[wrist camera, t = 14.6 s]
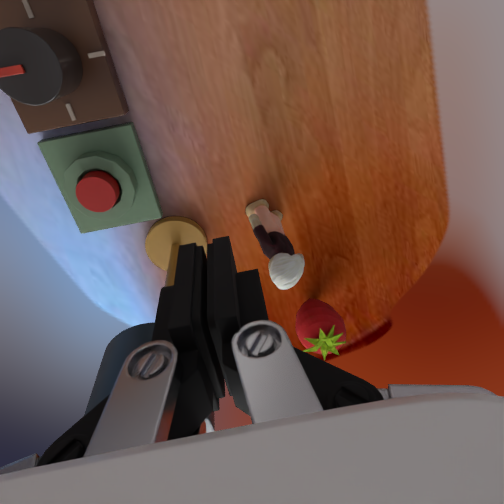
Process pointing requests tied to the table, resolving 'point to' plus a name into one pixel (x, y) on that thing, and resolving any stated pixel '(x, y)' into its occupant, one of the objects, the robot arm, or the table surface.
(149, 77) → the table surface
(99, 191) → the lamp switch
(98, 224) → the switch base
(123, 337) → the desk lamp
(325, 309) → the strawberry
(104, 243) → the table surface
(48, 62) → the dimmer knob
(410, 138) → the table surface
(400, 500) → the robot arm
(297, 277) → the grandmother figurine
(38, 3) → the dimmer panel
